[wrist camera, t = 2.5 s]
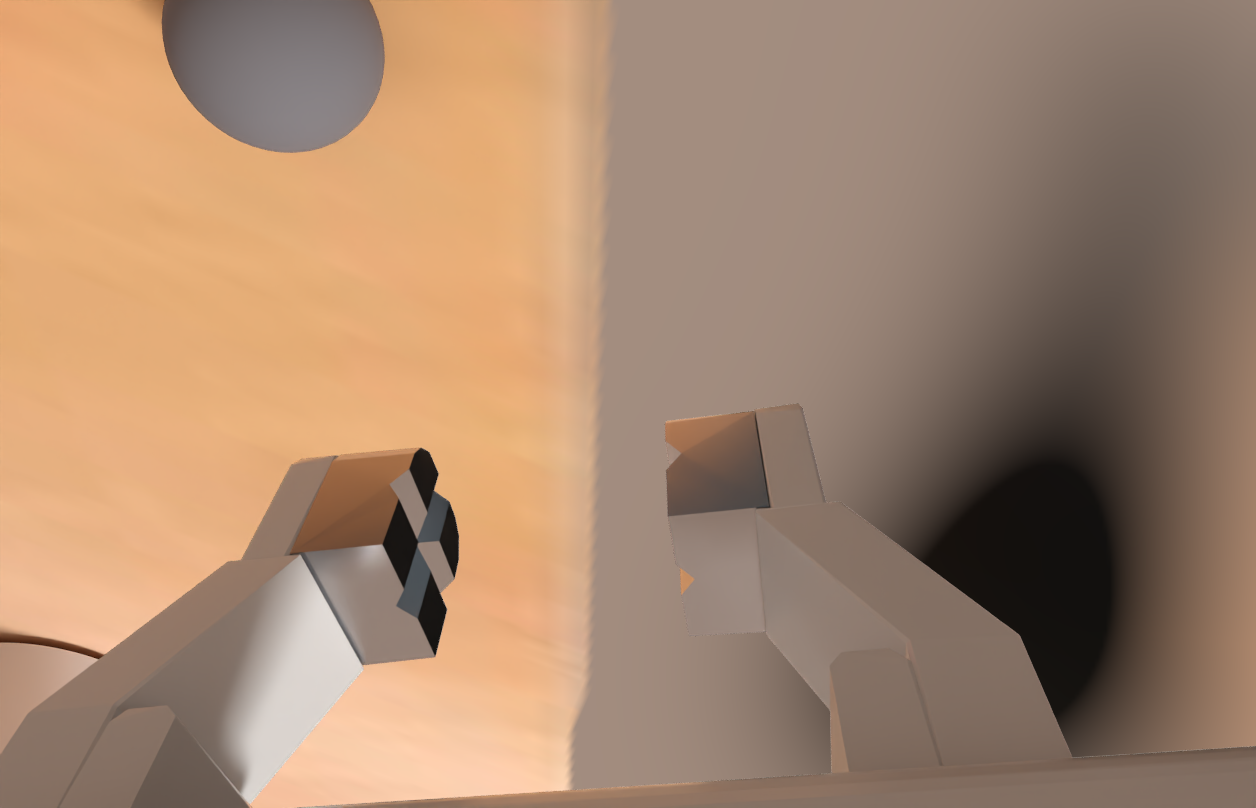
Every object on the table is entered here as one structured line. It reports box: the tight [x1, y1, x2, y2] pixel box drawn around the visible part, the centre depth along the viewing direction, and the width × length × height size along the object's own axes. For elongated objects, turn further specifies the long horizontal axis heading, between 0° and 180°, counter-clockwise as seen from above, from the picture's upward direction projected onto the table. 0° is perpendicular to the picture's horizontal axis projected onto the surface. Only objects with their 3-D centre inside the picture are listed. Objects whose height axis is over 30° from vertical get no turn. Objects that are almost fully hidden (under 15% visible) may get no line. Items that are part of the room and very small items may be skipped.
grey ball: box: [162, 0, 385, 153], centre depth 23 cm, size 6×6×6 cm
